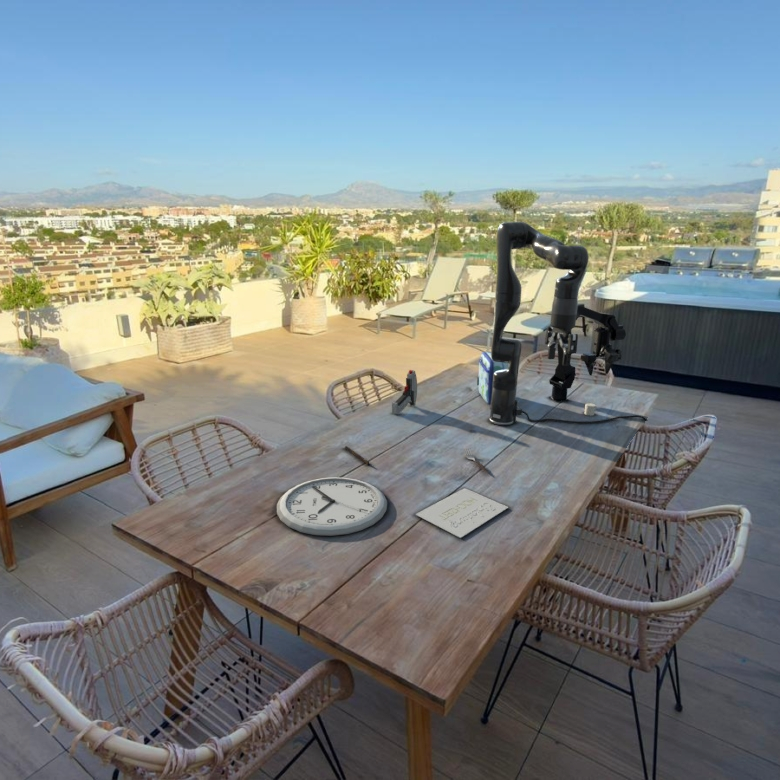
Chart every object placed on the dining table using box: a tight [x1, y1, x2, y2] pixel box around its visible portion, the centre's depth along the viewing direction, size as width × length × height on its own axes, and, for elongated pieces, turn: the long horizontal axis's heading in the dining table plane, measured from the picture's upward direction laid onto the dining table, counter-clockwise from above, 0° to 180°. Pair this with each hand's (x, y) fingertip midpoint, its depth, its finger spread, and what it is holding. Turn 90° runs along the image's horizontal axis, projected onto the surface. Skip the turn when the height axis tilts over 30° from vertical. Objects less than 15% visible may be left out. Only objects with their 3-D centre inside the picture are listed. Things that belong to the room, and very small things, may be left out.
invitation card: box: [414, 487, 509, 539], centre depth 141 cm, size 21×1×15 cm
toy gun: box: [391, 369, 418, 415], centre depth 216 cm, size 2×16×15 cm
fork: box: [463, 448, 488, 474], centre depth 169 cm, size 3×16×2 cm, turn 15°
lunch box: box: [476, 351, 509, 406], centre depth 230 cm, size 26×11×21 cm, turn 179°
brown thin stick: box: [344, 445, 370, 465], centre depth 173 cm, size 15×1×1 cm, turn 34°
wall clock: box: [276, 476, 388, 537], centre depth 142 cm, size 30×2×30 cm
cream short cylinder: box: [583, 402, 597, 417], centre depth 217 cm, size 4×4×4 cm
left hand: (558, 362), depth 168 cm, fingers open, 8 cm apart
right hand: (598, 374), depth 241 cm, fingers open, 9 cm apart
